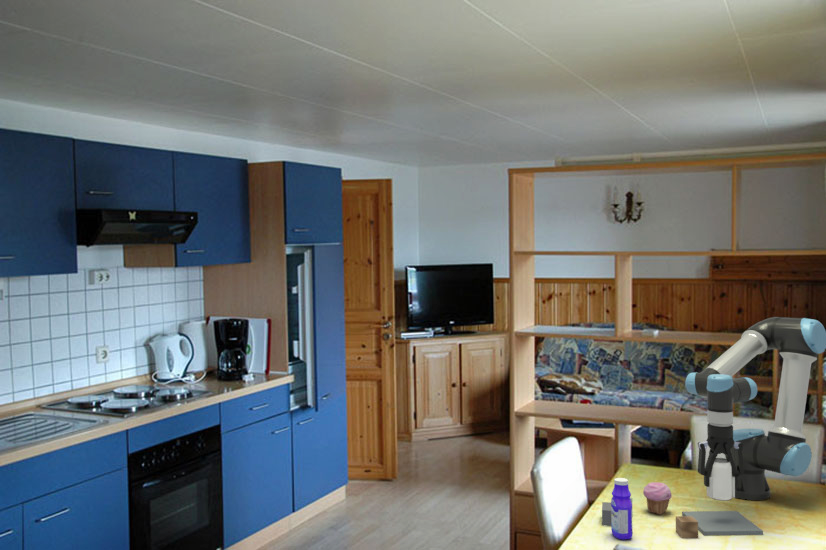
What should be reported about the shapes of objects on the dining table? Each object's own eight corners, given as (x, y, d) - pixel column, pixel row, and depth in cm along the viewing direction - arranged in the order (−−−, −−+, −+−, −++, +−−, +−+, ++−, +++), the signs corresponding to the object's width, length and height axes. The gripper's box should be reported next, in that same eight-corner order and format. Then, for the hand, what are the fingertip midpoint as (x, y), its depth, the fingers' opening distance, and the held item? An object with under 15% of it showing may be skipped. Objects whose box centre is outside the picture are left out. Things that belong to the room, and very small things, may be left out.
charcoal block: (615, 518, 236) (615, 503, 236) (615, 526, 228) (615, 511, 228) (602, 517, 237) (602, 502, 237) (602, 525, 229) (602, 510, 229)
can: (734, 501, 225) (733, 463, 225) (712, 500, 226) (711, 462, 226) (729, 495, 231) (728, 457, 231) (707, 494, 232) (707, 457, 232)
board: (736, 514, 238) (736, 510, 238) (763, 534, 220) (763, 530, 220) (682, 515, 238) (682, 511, 238) (703, 535, 220) (703, 531, 220)
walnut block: (692, 532, 223) (691, 516, 223) (698, 538, 218) (698, 521, 218) (675, 532, 223) (675, 516, 223) (681, 538, 218) (681, 522, 218)
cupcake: (638, 511, 242) (638, 481, 241) (653, 506, 247) (653, 477, 247) (661, 518, 234) (661, 488, 234) (677, 513, 240) (676, 483, 240)
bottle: (608, 532, 223) (607, 476, 223) (626, 531, 224) (625, 475, 223) (617, 541, 216) (616, 483, 216) (635, 540, 216) (634, 482, 216)
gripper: (745, 420, 232) (745, 492, 232) (685, 421, 232) (685, 493, 232) (756, 426, 224) (756, 499, 225) (694, 426, 225) (694, 500, 225)
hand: (720, 496), depth 228 cm, fingers closed on can, 6 cm apart
